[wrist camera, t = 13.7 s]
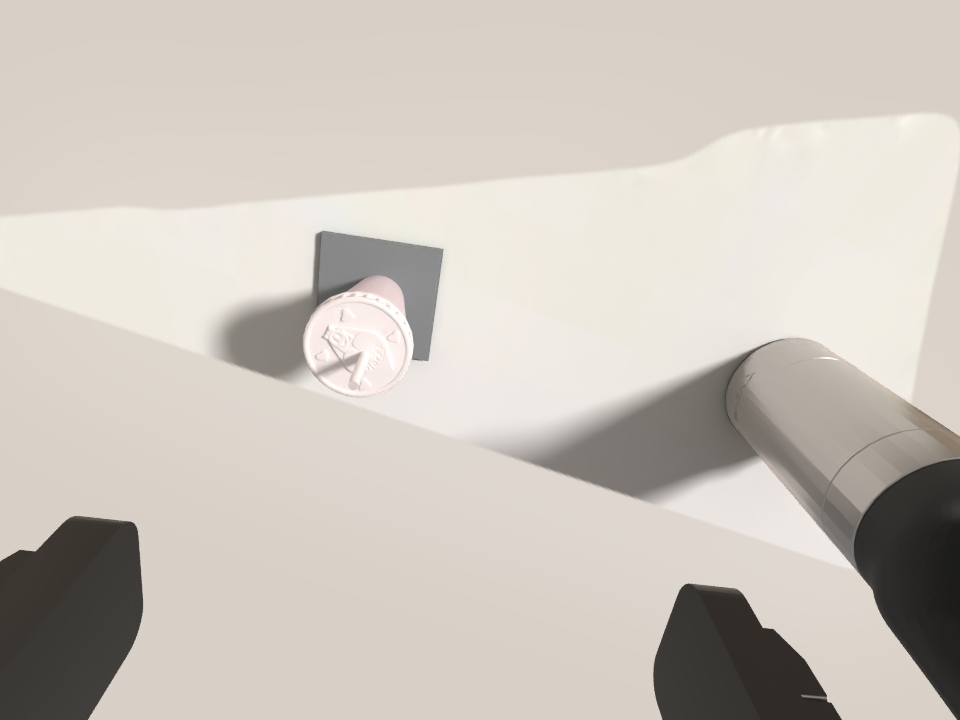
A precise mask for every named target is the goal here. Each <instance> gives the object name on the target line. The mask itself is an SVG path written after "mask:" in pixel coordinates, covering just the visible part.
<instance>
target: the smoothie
mask: <svg viewBox="0 0 960 720" xmlns="http://www.w3.org/2000/svg"><path fill="white" fill-rule="evenodd" d="M413 347H414V344H413V336H412V331H411V329H410V327H409V324H408V322H407V320H406V314H405V305H404V296H403V293H402V291H401V289H400V287H399V286H398V285H397V284H396V283H395V282H394V281H393V280H391V279H390V278H387V277H385V276H379V275H375V276H370V277H367V278H365V279H363V280H362V281H360V282H359V283H358V284H356V285H355V286H354V287H352V288H351V289H349V290H348V291H347V292H344V293H341V294H338V295H335V296H332V297H330V298H329V299H327V300H326V301H324V302H323V303H322V304H320V305H319V306H318V307H317V308H316V310H315V311H314V312H313V313H312V315H311V316H310V319H309V321H308V323H307V325H306V328H305V331H304V335H303V352H304V356H305V360H306V362H307V365H308V366H309V368H310V370H311V371H312V373H313V374H314V375H315V377H316V378H317V379H318V380H319V381H320V382H321V383H322V384H324V385H325V386H326V387H328V388H330V389H331V390H333V391H335V392H337V393H340V394H343V395H346V396H351V397H370V396H375V395H378V394H381V393H383V392H386V391H387V390H389V389H391V388H392V387H394V386H395V385H396V384H397V383H398V382H399V381H400V380H401V379H402V377H403V376H404V375H405V373H406V371H407V369H408V367H409V364H410V361H411V359H412V354H413Z"/></svg>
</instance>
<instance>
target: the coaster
mask: <svg viewBox="0 0 960 720" xmlns="http://www.w3.org/2000/svg"><path fill="white" fill-rule="evenodd" d="M442 256H443V249H440V248H433V247H426V246H420V245H413V244H407V243H400V242H393V241H387V240H380V239H374V238H367V237H360V236H354V235H347V234H340V233H334V232H327V231H323V232H321V249H320V266H319V283H318V300H317V307H318V306H319V305H320V304H322V303H323V302H324V301H326V300H327V299H329V298H330V297H332V296H335V295H338V294H341V293H344V292H347V291H348V290H349V289H351V288H352V287H354V286H355V285H356V284H358V283H359V282H360V281H362V280H363V279H365V278H367V277H370V276H375V275H379V276H385V277H387V278H390V279H391V280H393V281H394V282H395V283H396V284H397V285H398V286H399V287H400V289H401V291H402V293H403V296H404V305H405V314H406V320H407V322H408V324H409V327H410V329H411V331H412V336H413V344H414V347H413V354H412V359H418V360H425V361H428V358H429V351H430V344H431V336H432V329H433V322H434V314H435V307H436V300H437V292H438V285H439V278H440V270H441V263H442Z"/></svg>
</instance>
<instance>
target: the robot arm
mask: <svg viewBox="0 0 960 720" xmlns="http://www.w3.org/2000/svg"><path fill="white" fill-rule="evenodd" d="M726 409H727V413H728V417H729V418H730V420H731V422H732V424H733V425H734V427H735V428H736V429H737V430H738V431H739V432H740V434H741V435H742V436H743V437H744V438H745V440H746V441H747V442H748V443H749V444H750V445H751V447H752V448H753V449H754V450H755V452H756V453H757V454H758V455H759V456H760V458H761V459H762V460H763V461H764V462H765V463H766V465H767V466H768V467H769V468H770V469H771V471H772V472H773V473H774V474H775V475H776V476H777V478H778V479H779V480H780V481H781V482H782V484H783V485H784V486H785V487H786V488H787V489H788V491H789V492H790V493H791V494H792V495H793V496H794V498H795V499H796V500H797V501H798V502H799V504H800V505H801V506H802V507H803V508H804V509H805V511H806V512H807V513H808V514H809V515H810V517H811V518H812V519H813V520H814V521H815V522H816V524H817V525H818V526H819V527H820V528H821V529H822V531H823V532H824V533H825V534H826V535H827V537H828V538H829V539H830V540H831V541H832V542H833V544H835V546H836V547H837V548H838V549H839V550H840V552H841V553H842V554H843V555H844V556H845V557H846V559H847V560H848V561H849V562H850V563H851V565H852V566H853V567H854V568H855V569H856V570H857V572H858V573H859V574H860V575H861V576H862V577H863V579H864V580H865V581H866V582H867V583H868V585H870V587H871V588H872V590H873V593H874V598H875V601H876V604H877V606H878V609H879V611H880V613H881V615H882V617H883V619H884V620H885V622H886V624H887V625H888V627H889V628H890V629H891V631H892V632H893V633H894V635H895V636H896V637H897V639H898V640H899V641H900V643H901V644H902V645H903V647H904V648H905V649H906V650H907V652H908V653H909V654H910V656H911V657H912V659H913V660H914V661H915V663H916V664H917V665H918V667H919V668H920V669H921V671H922V672H923V673H924V675H925V676H926V678H927V679H928V680H929V682H930V683H931V684H932V685H933V687H934V688H935V690H936V691H937V692H938V694H939V695H940V697H941V698H942V699H943V701H944V702H945V704H946V705H947V706H948V708H949V709H950V711H951V712H952V713H953V715H954V716H955V717H956V719H957V720H960V437H959V436H958V435H957V434H955V433H954V432H952V431H951V430H949V429H948V428H946V427H945V426H943V425H942V424H940V423H939V422H937V421H936V420H934V419H932V418H931V417H930V416H928V415H926V414H925V413H924V412H922V411H921V410H919V409H918V408H916V407H914V406H913V405H911V404H910V403H908V402H907V401H905V400H904V399H902V398H901V397H899V396H898V395H896V394H895V393H893V392H892V391H890V390H889V389H887V388H886V387H884V386H883V385H881V384H880V383H878V382H877V381H875V380H874V379H872V378H871V377H869V376H868V375H866V374H865V373H863V372H862V371H860V370H859V369H857V368H856V367H855V366H853V365H852V364H850V363H848V362H847V361H845V360H844V359H842V358H841V357H839V356H838V355H836V354H835V353H833V352H832V351H830V350H829V349H827V348H826V347H824V346H823V345H821V344H819V343H816V342H814V341H811V340H806V339H800V338H796V339H784V340H780V341H776V342H773V343H770V344H768V345H766V346H764V347H761V348H760V349H758V350H757V351H755V352H754V353H752V354H751V355H750V356H749V357H748V358H747V359H745V360H744V361H743V362H742V363H741V364H740V366H739V367H738V369H737V370H736V371H735V373H734V374H733V376H732V378H731V381H730V383H729V385H728V389H727V393H726ZM142 613H143V594H142V580H141V566H140V552H139V539H138V531H137V527H136V526H135V524H134V523H132V522H127V521H118V520H110V519H101V518H91V517H82V516H74V517H71V518H69V519H68V520H66V521H65V522H64V523H63V524H62V525H61V526H60V527H59V528H58V529H57V530H56V531H55V532H54V533H53V534H52V535H51V536H50V537H49V538H48V539H47V540H46V541H45V542H44V544H43V545H42V546H41V547H40V548H39V549H38V550H37V551H36V552H34V551H25V550H19V551H17V552H16V553H14V554H12V555H11V556H9V557H7V558H5V559H3V560H2V561H1V562H0V720H88V719H89V717H90V715H91V714H92V712H93V710H94V709H95V707H96V705H97V704H98V702H99V701H100V699H101V697H102V696H103V694H104V692H105V691H106V689H107V687H108V686H109V684H110V683H111V681H112V679H113V678H114V676H115V674H116V673H117V671H118V670H119V668H120V666H121V665H122V663H123V661H124V660H125V658H126V657H127V655H128V653H129V651H130V650H131V648H132V646H133V643H134V641H135V639H136V636H137V633H138V630H139V627H140V623H141V618H142ZM653 674H654V675H653V676H654V690H655V695H656V700H657V704H658V707H659V710H660V713H661V716H662V719H663V720H842V719H841V718H840V716H839V714H838V713H837V712H836V710H835V708H834V706H833V705H832V703H829V702H827V698H826V697H827V695H826V693H825V692H824V690H823V688H822V687H821V685H820V684H819V682H818V680H817V679H816V677H815V676H814V674H813V672H812V671H811V669H810V667H809V666H808V664H807V663H806V661H805V660H804V659H803V658H802V657H801V656H800V655H799V654H798V653H797V652H796V651H795V650H794V649H793V648H792V647H791V646H790V645H789V644H788V643H787V642H786V641H785V640H784V639H783V638H782V637H781V636H780V635H779V634H778V633H777V632H776V631H775V630H774V629H767V628H762V626H761V624H760V622H759V621H758V619H757V617H756V615H755V614H754V612H753V610H752V609H751V607H750V605H749V603H748V602H747V600H746V598H745V597H744V595H743V594H742V593H741V592H740V591H739V590H737V589H734V588H725V587H715V586H706V585H697V584H686V585H684V586H683V587H682V588H681V590H680V591H679V594H678V596H677V599H676V601H675V604H674V607H673V610H672V613H671V615H670V618H669V621H668V623H667V626H666V629H665V632H664V634H663V637H662V640H661V643H660V645H659V648H658V651H657V654H656V657H655V663H654V673H653Z"/></svg>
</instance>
